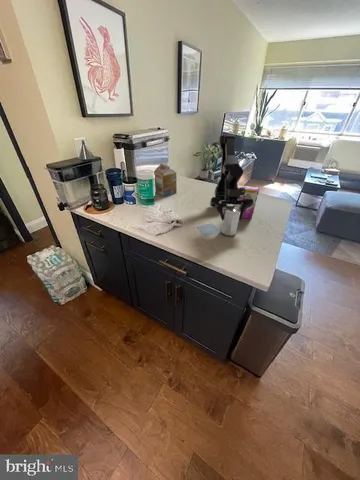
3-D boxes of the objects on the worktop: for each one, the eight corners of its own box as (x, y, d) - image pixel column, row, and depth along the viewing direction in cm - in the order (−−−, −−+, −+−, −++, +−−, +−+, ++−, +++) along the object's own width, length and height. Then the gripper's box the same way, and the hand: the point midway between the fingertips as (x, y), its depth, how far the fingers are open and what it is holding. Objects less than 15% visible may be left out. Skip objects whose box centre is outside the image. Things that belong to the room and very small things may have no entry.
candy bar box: (230, 216, 110) (236, 187, 100) (232, 212, 114) (237, 184, 104) (251, 219, 107) (259, 190, 97) (252, 215, 111) (259, 187, 101)
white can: (227, 225, 99) (230, 204, 92) (239, 231, 94) (243, 210, 88) (217, 230, 95) (220, 209, 88) (229, 237, 91) (233, 215, 84)
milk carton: (155, 191, 138) (153, 163, 127) (168, 188, 143) (167, 161, 132) (163, 196, 131) (162, 167, 120) (176, 193, 136) (176, 164, 125)
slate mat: (212, 223, 103) (212, 223, 103) (221, 233, 96) (222, 232, 95) (195, 227, 100) (195, 226, 100) (204, 237, 93) (204, 236, 92)
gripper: (213, 179, 85) (212, 214, 82) (257, 180, 84) (258, 216, 81) (210, 190, 96) (209, 221, 93) (249, 191, 95) (249, 222, 92)
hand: (231, 220), depth 90 cm, fingers closed on white can, 7 cm apart
